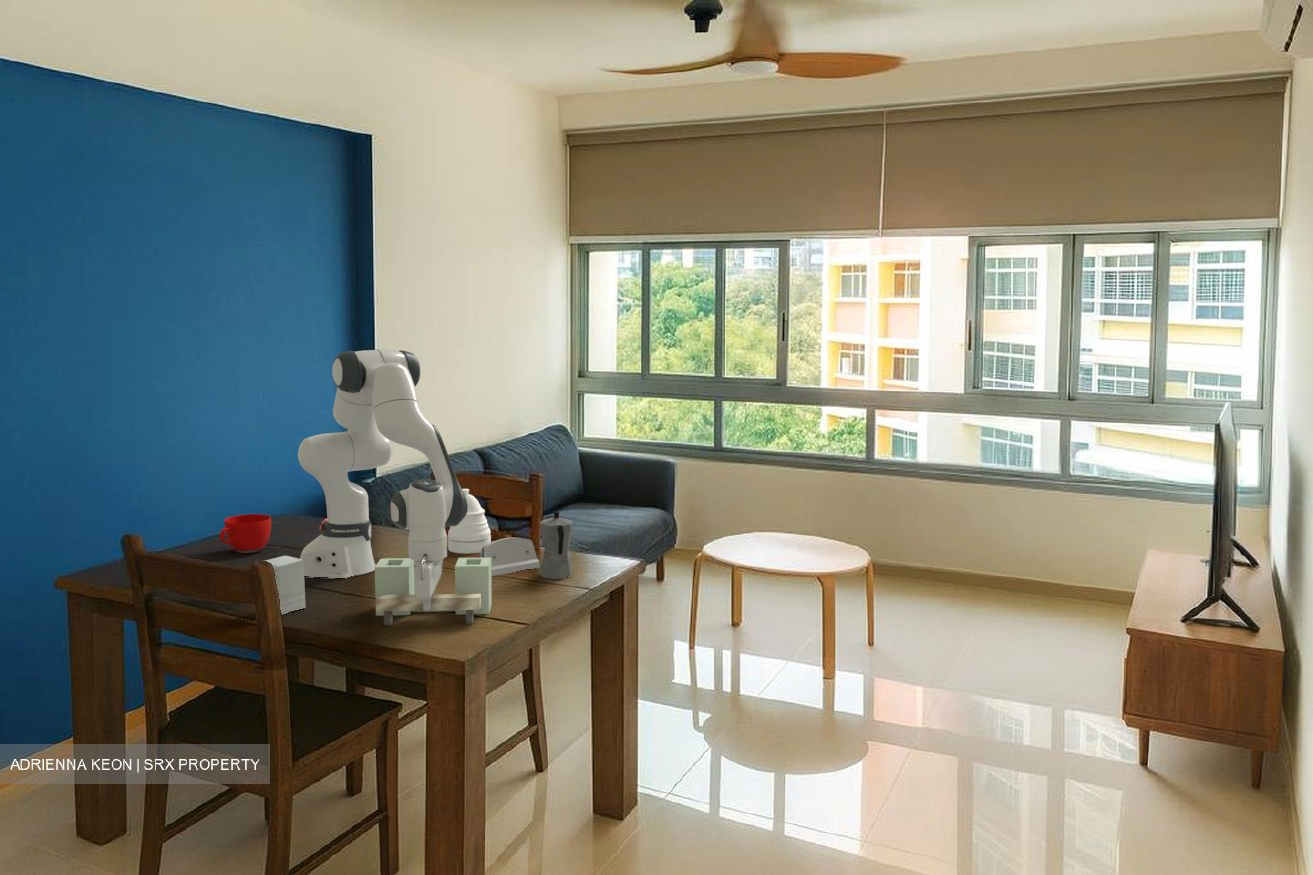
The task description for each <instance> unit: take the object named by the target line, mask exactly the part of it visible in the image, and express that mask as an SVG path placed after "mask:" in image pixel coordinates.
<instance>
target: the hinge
mask: <svg viewBox="0 0 1313 875" xmlns="http://www.w3.org/2000/svg"><path fill="white" fill-rule="evenodd" d="M480 558H491V577H495V576H500V575H506V574H507V575H508V574H511V573H512V572H513V573H517V572H516V571H519V572H521V571H520V570H525V569H531V570H535V568H536V569H541V568H540V567H541V563H540V560H539V559H538V556H537V554H536V550H535V546H534V544H533V541H532V540H531V539H529V538H524V537H523V538H522V537H505V538H499V539H497V540H494V541H491V543H489V544H487V545H486V546H484V547H483V548H482V549H481V552H480ZM525 571H526V570H525Z"/></svg>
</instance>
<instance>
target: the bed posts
mask: <svg viewBox="0 0 1313 875" xmlns="http://www.w3.org/2000/svg"><path fill="white" fill-rule="evenodd" d="M375 565H376V566H375V570H374V581H375V582H374V589H375V595H374V596H375V598H376V597H377V596H378V595H414V576H415V564H414V560H411V559H410V558H409V557H407V558H405V557H404V558H403V557H402V558H399V557H398V558H394V557H393V558H390V557H389V558H388V557H387V558H384V557H383V558H380V559H379V560H378V562H377V563H376V564H375ZM454 584H455V586H454V588H455V589H454V590H455V592H454V594H481V607H480V610H474V615H490V611H491V609H492V608H491V607H492V604H493V602H492V597H493V596H492V592H493V591H492V576H491V558H481V557H458V558H457V561H456V563H455V565H454ZM417 612H418V613H420V612H423V613H424V612H426V613H427V612H429V613H431V612H433V613H434V612H435V613H436V612H437V613H438V612H455V615H466V610H429V611H393V616H410V615H411V614H412V613H417ZM375 616H384V611H376V610H375Z"/></svg>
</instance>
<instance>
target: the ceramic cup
mask: <svg viewBox="0 0 1313 875" xmlns="http://www.w3.org/2000/svg"><path fill="white" fill-rule="evenodd" d="M223 524H224V528H222V529H221V530H220V532H219V539H220V540H221V542H222V543H223V544H225V545H228V546H231V548H232V550H235V551H236V550H239V551H248V550H256V549H261V548H265V546H266V545H267V543H268V541H269V539H270V536H271V531H272V517H271V516H270V515H268V514H261V513H248V514H237V515H233V516H229V517H227V518H225V519H223ZM225 536H226V538H225Z"/></svg>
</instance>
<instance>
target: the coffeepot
mask: <svg viewBox="0 0 1313 875" xmlns="http://www.w3.org/2000/svg"><path fill="white" fill-rule="evenodd" d="M573 526H574V521H573V520H570V519H567V518H562V517H560V511H556V510H555V511H553V517H549V518H547V519H543V520H541V521H540V522H539V528H540V536H541V541H542V546H543V547H544V552H543V554H542V560H541V564H540V567H541V568H540V571H539V572H540V573H539V576H541V577H542V578H544V579H547V578H548V579H549V580H561V579H560V578H564V577H568V576H571V575H572V576H573V574H572V573H574V570H573V565H572V558H571V553H570V551H569V550H570V548H569V546H570V545H571V540H572V532H573ZM572 576H571V577H572ZM548 579H547V580H548Z"/></svg>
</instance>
